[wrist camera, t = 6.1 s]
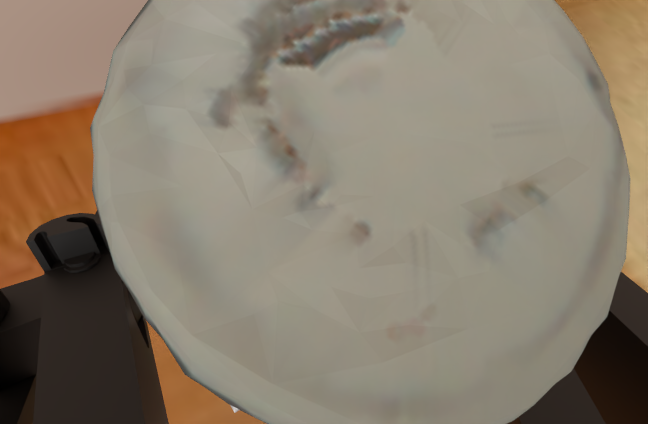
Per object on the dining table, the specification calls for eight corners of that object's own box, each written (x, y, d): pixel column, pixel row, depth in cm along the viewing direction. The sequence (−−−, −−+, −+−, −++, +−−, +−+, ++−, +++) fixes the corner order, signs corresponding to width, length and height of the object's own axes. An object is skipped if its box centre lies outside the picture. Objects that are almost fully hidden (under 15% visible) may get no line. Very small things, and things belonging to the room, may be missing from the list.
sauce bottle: (217, 201, 21) (-116, -441, 2) (312, 198, 23) (642, -201, 3) (219, 304, 20) (-430, 982, 1) (318, 295, 21) (845, 506, 2)
